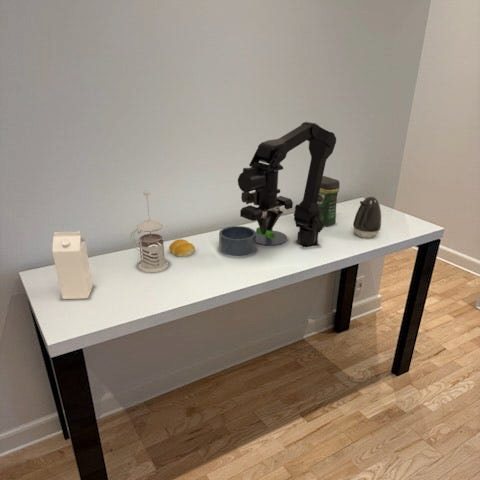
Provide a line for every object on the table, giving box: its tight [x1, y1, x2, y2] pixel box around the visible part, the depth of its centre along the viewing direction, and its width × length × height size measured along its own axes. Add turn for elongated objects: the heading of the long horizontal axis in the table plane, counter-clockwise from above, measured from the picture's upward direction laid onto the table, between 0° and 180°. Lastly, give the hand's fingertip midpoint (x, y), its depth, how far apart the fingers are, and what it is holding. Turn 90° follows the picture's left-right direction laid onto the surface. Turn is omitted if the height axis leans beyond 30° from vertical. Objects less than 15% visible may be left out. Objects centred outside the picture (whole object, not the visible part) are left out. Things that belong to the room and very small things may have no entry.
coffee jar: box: [317, 175, 341, 227], centre depth 177 cm, size 10×8×19 cm
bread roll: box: [168, 238, 196, 258], centre depth 154 cm, size 8×9×4 cm
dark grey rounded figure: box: [352, 196, 382, 239], centre depth 167 cm, size 10×10×15 cm
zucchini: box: [255, 226, 276, 240], centre depth 144 cm, size 8×2×2 cm, turn 44°
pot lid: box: [255, 227, 289, 247], centre depth 164 cm, size 14×14×6 cm
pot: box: [218, 225, 257, 257], centre depth 156 cm, size 13×13×6 cm
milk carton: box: [51, 231, 94, 300], centre depth 125 cm, size 7×7×19 cm
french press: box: [130, 190, 169, 273], centre depth 140 cm, size 10×12×25 cm
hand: (266, 233), depth 144 cm, fingers closed on zucchini, 2 cm apart
